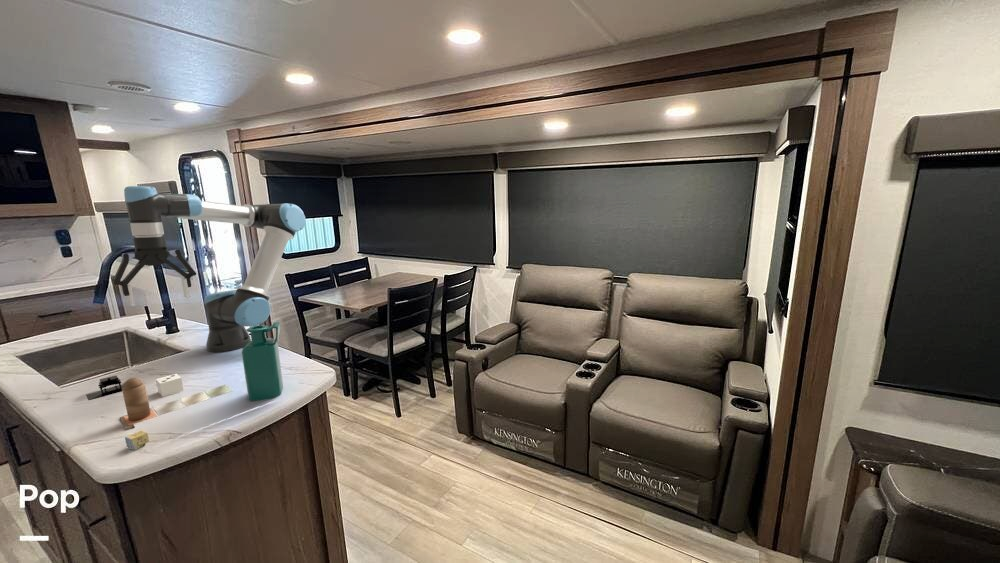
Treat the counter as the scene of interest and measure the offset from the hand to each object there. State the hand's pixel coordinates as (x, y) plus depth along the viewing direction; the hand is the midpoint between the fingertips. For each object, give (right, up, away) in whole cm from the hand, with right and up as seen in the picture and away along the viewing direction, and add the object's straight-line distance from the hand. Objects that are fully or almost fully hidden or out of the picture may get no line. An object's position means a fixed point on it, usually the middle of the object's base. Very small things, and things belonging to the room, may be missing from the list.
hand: (161, 301), depth 124 cm
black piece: (-12, -29, -4) cm, 32 cm away
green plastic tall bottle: (+40, -29, -8) cm, 50 cm away
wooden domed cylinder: (+13, -31, -21) cm, 39 cm away
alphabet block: (+24, -34, -32) cm, 52 cm away
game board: (+18, -30, -14) cm, 37 cm away
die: (+9, -28, -6) cm, 30 cm away
